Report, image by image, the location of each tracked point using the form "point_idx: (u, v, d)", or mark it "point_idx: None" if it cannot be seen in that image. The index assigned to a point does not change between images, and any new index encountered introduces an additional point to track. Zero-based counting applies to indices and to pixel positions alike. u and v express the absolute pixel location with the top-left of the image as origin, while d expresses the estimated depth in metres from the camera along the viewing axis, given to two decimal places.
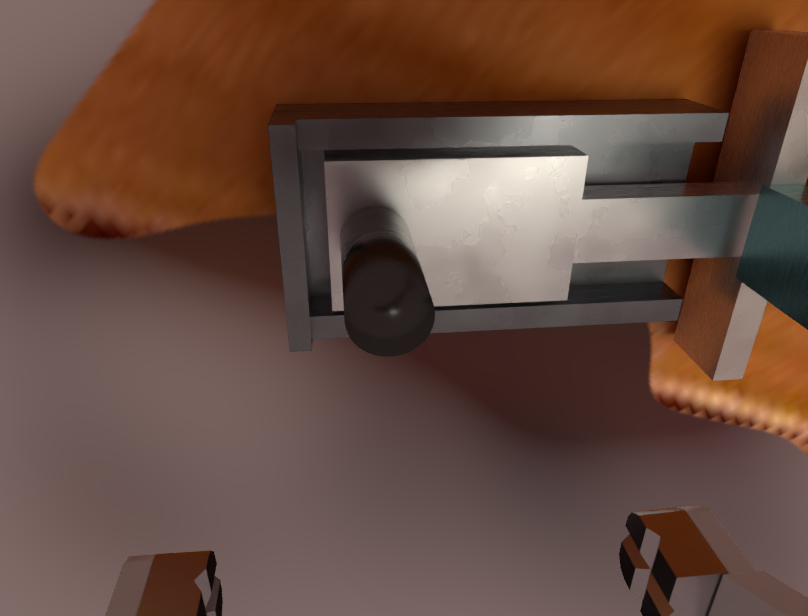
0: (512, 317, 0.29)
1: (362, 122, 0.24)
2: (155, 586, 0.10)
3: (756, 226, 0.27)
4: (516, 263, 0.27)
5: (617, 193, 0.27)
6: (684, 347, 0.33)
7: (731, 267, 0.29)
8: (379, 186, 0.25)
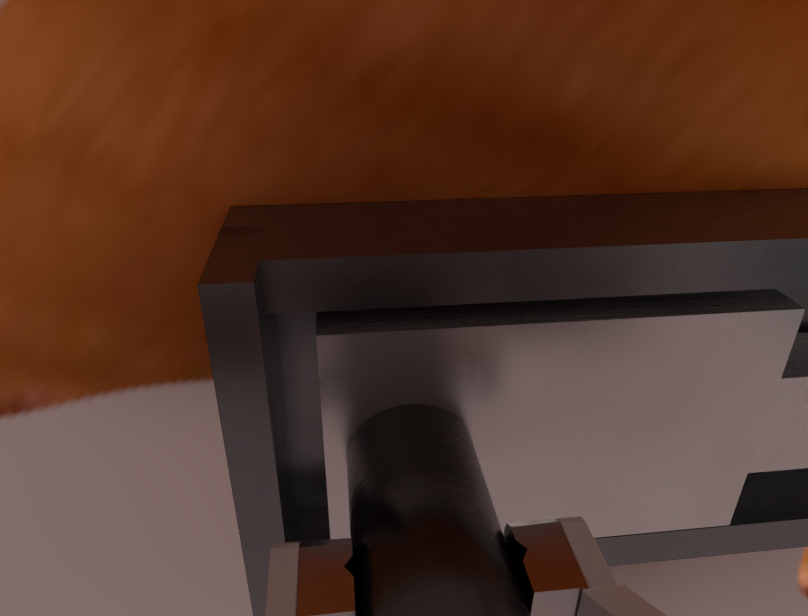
0: (632, 549, 0.17)
1: (389, 262, 0.12)
2: (308, 571, 0.10)
3: None
4: (653, 478, 0.16)
5: None
6: None
7: None
8: (419, 372, 0.13)
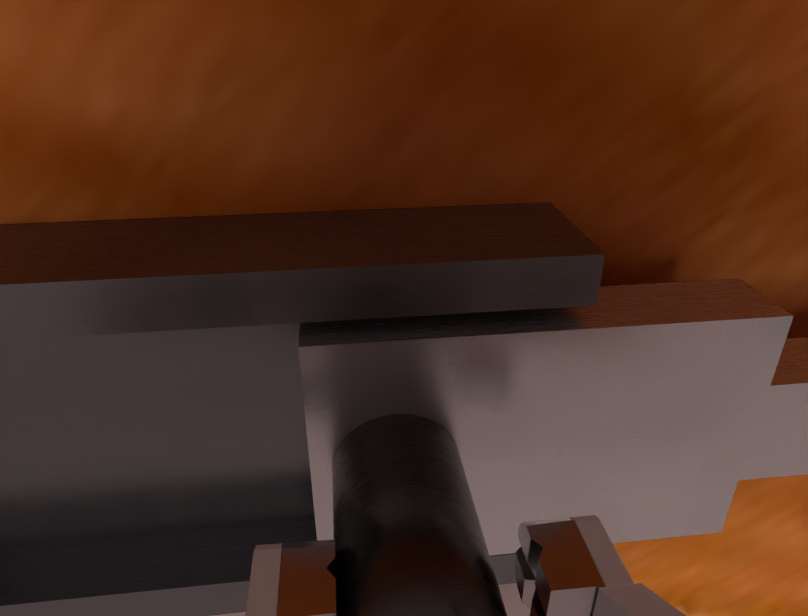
0: (246, 596, 0.16)
1: None
2: (290, 573, 0.10)
3: None
4: (642, 486, 0.16)
5: None
6: None
7: None
8: (404, 382, 0.13)
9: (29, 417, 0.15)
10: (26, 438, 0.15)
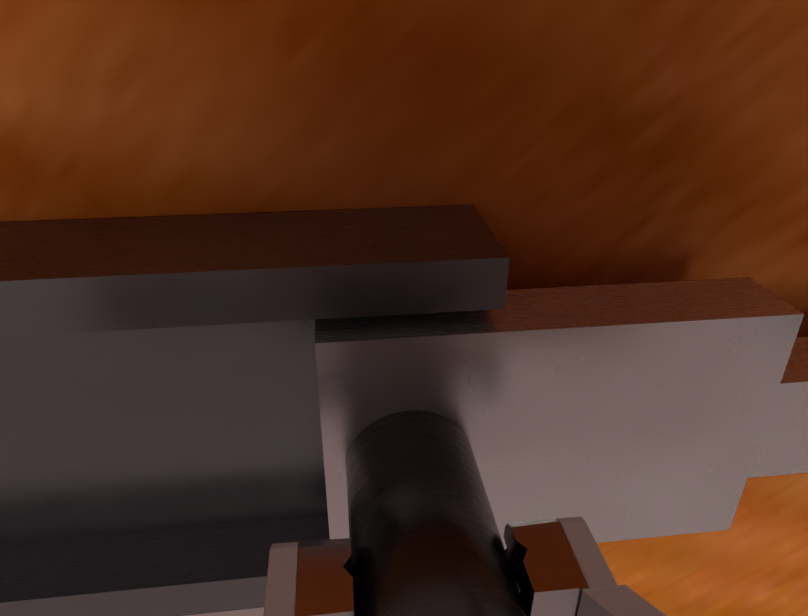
0: (166, 601, 0.16)
1: None
2: (307, 572, 0.10)
3: None
4: (653, 483, 0.16)
5: None
6: None
7: None
8: (418, 379, 0.13)
9: None
10: None
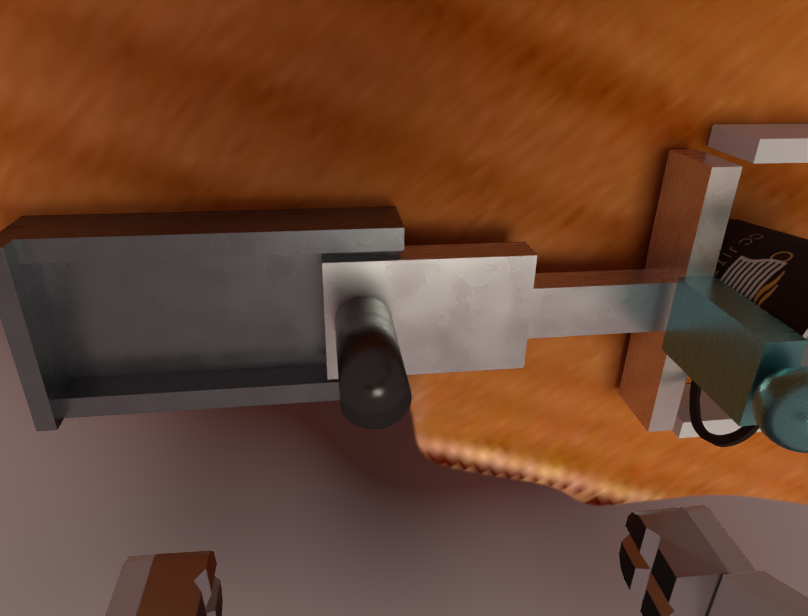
0: (247, 396, 0.33)
1: (74, 240, 0.28)
2: (155, 586, 0.10)
3: (675, 309, 0.33)
4: (480, 339, 0.33)
5: (563, 282, 0.33)
6: (626, 401, 0.39)
7: (659, 339, 0.35)
8: (366, 281, 0.31)
9: (145, 304, 0.32)
10: (142, 316, 0.32)
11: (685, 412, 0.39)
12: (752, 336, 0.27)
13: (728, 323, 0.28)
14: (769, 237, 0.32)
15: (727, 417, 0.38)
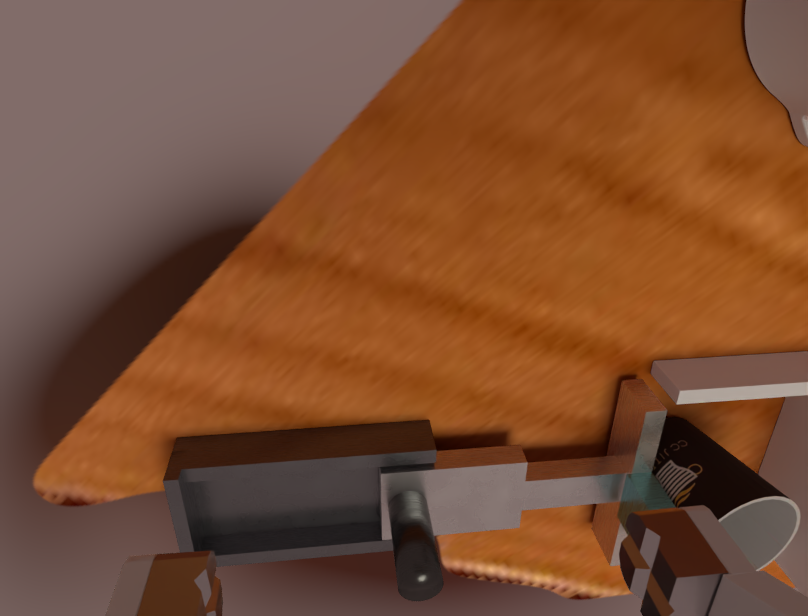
0: (326, 551, 0.48)
1: (219, 468, 0.43)
2: (155, 586, 0.10)
3: (625, 494, 0.47)
4: (488, 512, 0.47)
5: (546, 473, 0.47)
6: (596, 536, 0.53)
7: (617, 505, 0.49)
8: (410, 482, 0.45)
9: (257, 491, 0.47)
10: (255, 498, 0.47)
11: None
12: None
13: None
14: (691, 446, 0.46)
15: None
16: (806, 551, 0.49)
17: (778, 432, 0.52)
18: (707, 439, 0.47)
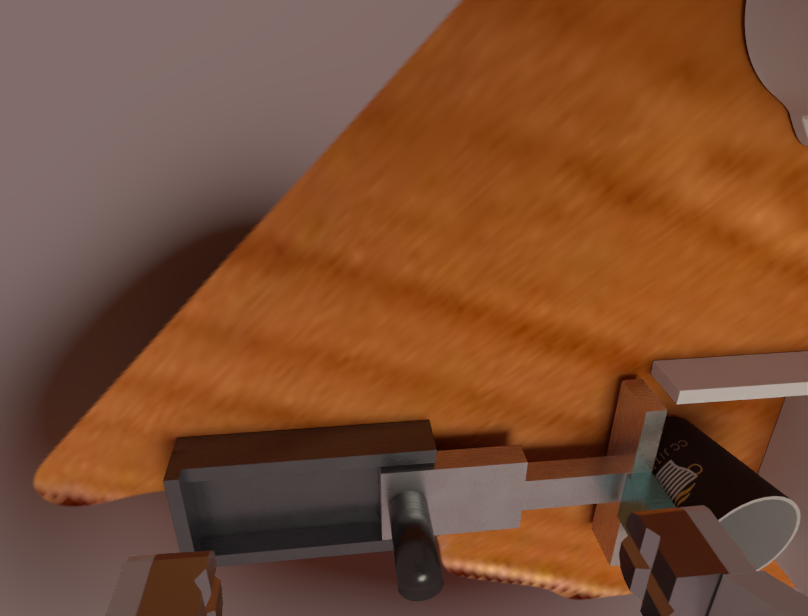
0: (326, 551, 0.48)
1: (219, 468, 0.43)
2: (155, 586, 0.10)
3: (625, 494, 0.47)
4: (488, 512, 0.47)
5: (546, 473, 0.47)
6: (596, 536, 0.53)
7: (617, 505, 0.49)
8: (410, 482, 0.45)
9: (258, 491, 0.47)
10: (255, 498, 0.47)
11: None
12: None
13: None
14: (691, 446, 0.46)
15: None
16: (806, 551, 0.49)
17: (778, 432, 0.52)
18: (707, 439, 0.47)
